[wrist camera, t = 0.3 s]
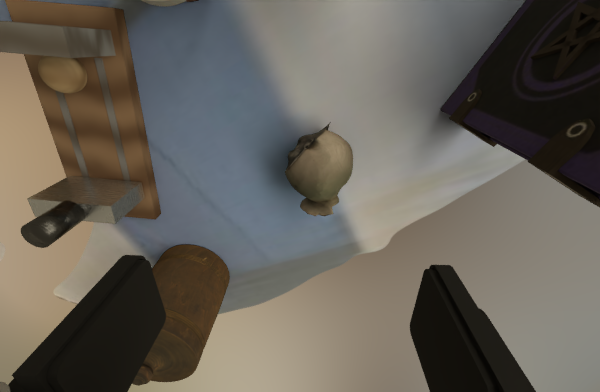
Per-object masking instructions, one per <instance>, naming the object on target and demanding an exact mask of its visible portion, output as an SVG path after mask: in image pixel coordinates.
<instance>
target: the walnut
mask: <svg viewBox="0 0 600 392" xmlns="http://www.w3.org/2000/svg"><path fill="white" fill-rule="evenodd" d="M38 72H39V75H40V77H41V78H42V80H43V81H44V82H45V83H46V84H47V85H48V86H49V87H51V88H52V89H54V90H56V91H59V92H62V93H75V92H78V91H80V90H82V89H83V88H84V87H85V85H86V83H87V73H86V70H85V68H84V67H83V65H82V64H81V63H80V62H79V61H78V60H77V59H75V58H65V57H54V56H43V57H42V58H41V59H40V61H39V64H38Z"/></svg>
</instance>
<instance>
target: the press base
mask: <svg viewBox="0 0 600 392" xmlns="http://www.w3.org/2000/svg"><path fill="white" fill-rule="evenodd" d="M5 2H6V5H7V7H8V10H9V13H10V16H11V19H12V22H10V21H0V52H9V53H20V54H24V56H25V59H26V62H27V65H28V68H29V70H30V73H31V76H32V79H33V82H34V85H35V87H36V91H37V93H38V96H39V99H40V102H41V105H42V108H43V111H44V113H45V116H46V119H47V122H48V125H49V128H50V131H51V133H52V136H53V139H54V142H55V145H56V148H57V151H58V154H59V156H60V159H61V162H62V165H63V167H64V170H65V173H66V176H67V177H69V176H79V177H90V178H101V179H112V180H123V181H134V182H141V183H142V187H143V192H144V197H145V198H144V199H143V200H142V201H141V202H140V203H138V204H137V205H136V206H135V207H134V208H133V209H132V210H131V211H129V212H128V213H127V214H126V215H125V217H136V218H147V219H156V218H157V217H158V216H159V215H160V214H161V210H160V205H159V200H158V194H157V189H156V184H155V178H154V173H153V168H152V162H151V157H150V152H149V146H148V141H147V135H146V130H145V125H144V119H143V114H142V109H141V103H140V98H139V93H138V87H137V82H136V77H135V71H134V66H133V61H132V55H131V50H130V44H129V39H128V34H127V28H126V23H125V18H124V12H123V10H122V9H116V8H108V7H96V6H85V5H73V4H61V3H50V2H38V1H26V0H5ZM43 56H54V57H65V58H75V59H77V60H78V61H79V62H80V63H81V64H82V65H83V67H84V68H85V70H86V73H87V83H86V85H85V87H84V88H83V89H82V90H80V91H78V92H75V93H62V92H59V91H56V90H54V89H52V88H51V87H49V86H48V85H47V84H46V83H45V82H44V81H43V80H42V78H41V77H40V75H39V72H38V64H39V61H40V59H41V58H42V57H43Z"/></svg>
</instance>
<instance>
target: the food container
mask: <svg viewBox="0 0 600 392" xmlns="http://www.w3.org/2000/svg"><path fill="white" fill-rule="evenodd" d="M141 1H143V2H145V3H148V4H151V5H156V6H174V5H177V4H180V3H183V2H193V1H198V0H141Z"/></svg>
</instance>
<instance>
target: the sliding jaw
mask: <svg viewBox="0 0 600 392" xmlns="http://www.w3.org/2000/svg"><path fill="white" fill-rule="evenodd" d="M144 198H145V197H144V192H143V187H142V183H141V182H134V181H123V180H112V179H101V178H90V177H79V176H69V177H67V178H65V179H63V180H61V181H60V182H58V183H56V184H54V185H52V186H50V187H48V188H47V189H45V190H43V191H41V192H39V193H37V194H35V195H33V196H31V197H30V198H28V201H29V204H30V206H31V208H32V210H33V213H34V215H35V216H36V217H37V218H36V219H34V220H32V221H30V222H29V223H27V224H26V225H24V226H23V227H22V228H21V234H22V236H23V237H24V238H25V240H26V241H27V242H29V243H30V244H32V245H34V246H36V247H41V248H44V247H48V246H49V245H51V244H52V243H53V242H55V241H56V240H57V239H59V238H60V237H61V236H63V235H64V234H65V233H66V232H68V231H69V230H71V229H72V228H73V227H74V226H76V225H77V224H78V223H80V222H81V221H90V222H101V223H112V224H116V223H117V222H118V221H119V220H121V219H122V218H123V217H124V216H125V215H126V214H127V213H128V212H129V211H131V210H132V209H133V208H134V207H135V206H136V205H137V204H138V203H140V202H141V201H142V200H143V199H144Z"/></svg>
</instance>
